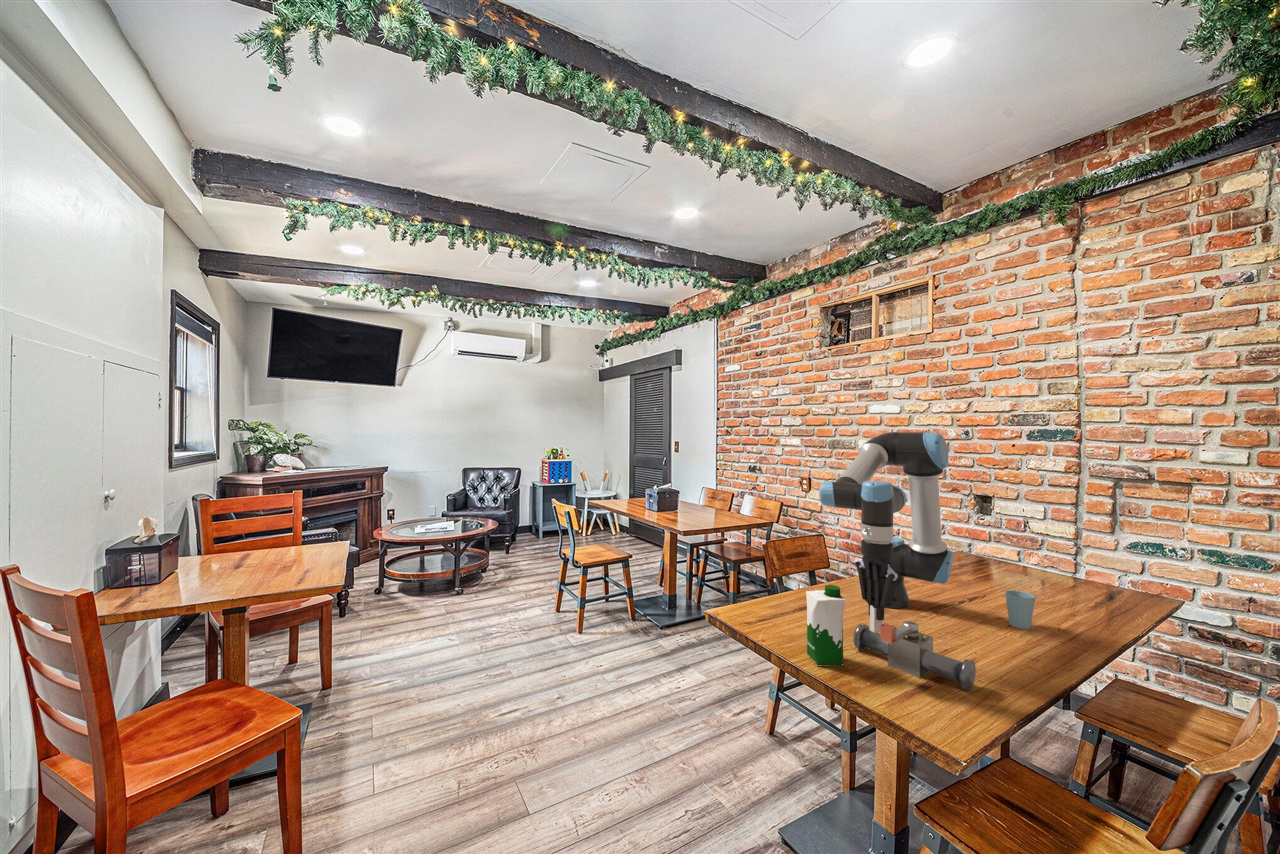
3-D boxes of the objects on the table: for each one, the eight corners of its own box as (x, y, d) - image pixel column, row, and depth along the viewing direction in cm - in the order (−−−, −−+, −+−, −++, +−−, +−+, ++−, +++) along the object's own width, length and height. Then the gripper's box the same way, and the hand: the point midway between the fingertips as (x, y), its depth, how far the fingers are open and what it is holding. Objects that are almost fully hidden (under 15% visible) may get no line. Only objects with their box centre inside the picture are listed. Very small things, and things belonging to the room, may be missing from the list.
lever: (906, 626, 131) (906, 611, 131) (920, 631, 128) (920, 615, 128) (878, 641, 122) (878, 624, 122) (893, 646, 119) (893, 629, 119)
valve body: (852, 651, 138) (852, 617, 138) (866, 644, 142) (866, 611, 142) (963, 695, 115) (964, 654, 115) (976, 684, 120) (976, 645, 120)
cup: (1040, 628, 155) (1040, 596, 155) (1026, 632, 152) (1026, 599, 152) (1014, 619, 162) (1014, 588, 162) (1000, 623, 159) (1000, 592, 159)
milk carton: (848, 667, 128) (849, 592, 128) (815, 668, 128) (816, 593, 128) (832, 652, 137) (833, 582, 137) (802, 653, 136) (802, 582, 136)
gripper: (847, 536, 131) (846, 622, 130) (885, 547, 118) (884, 643, 118) (869, 534, 133) (868, 619, 133) (908, 545, 121) (908, 639, 120)
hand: (876, 630), depth 125 cm, fingers closed
